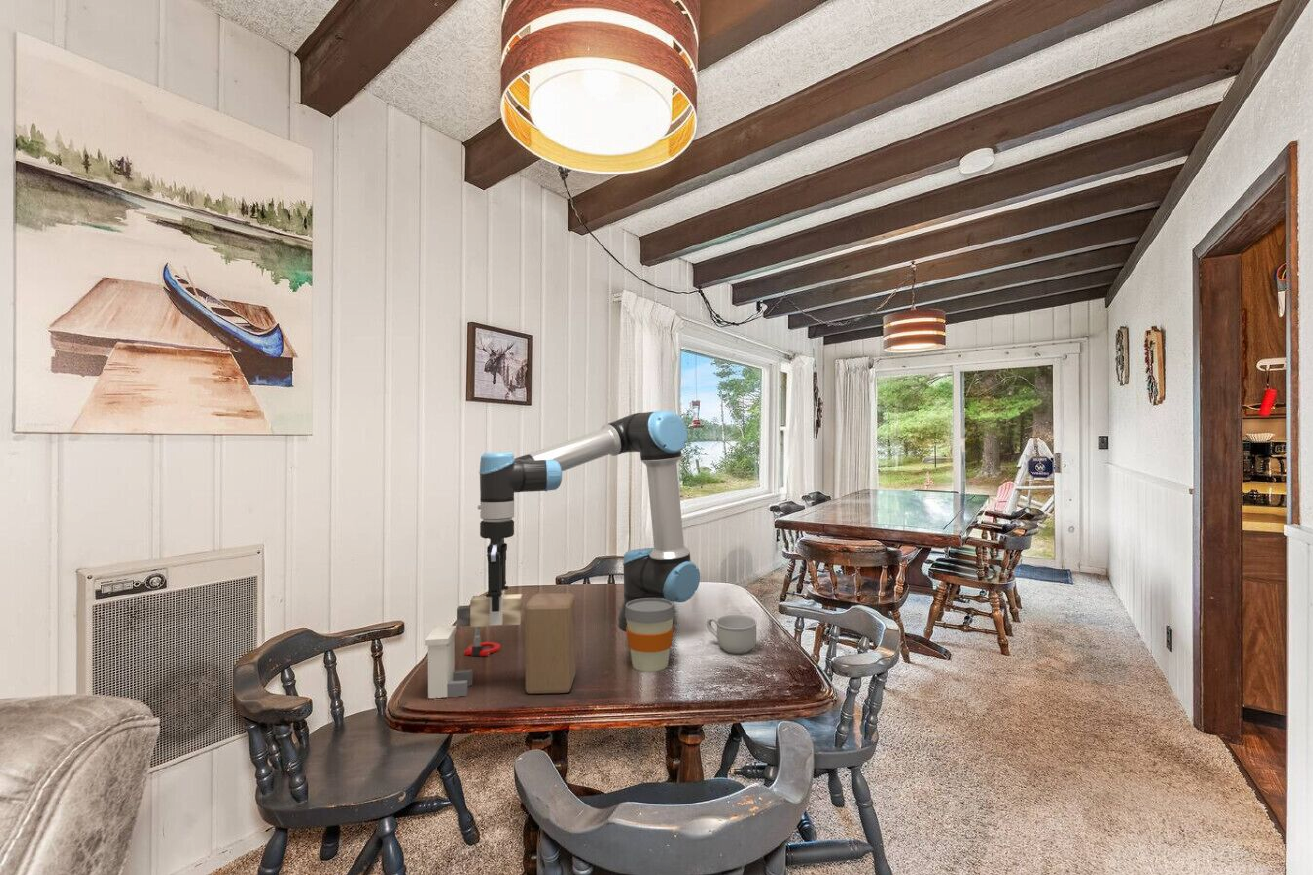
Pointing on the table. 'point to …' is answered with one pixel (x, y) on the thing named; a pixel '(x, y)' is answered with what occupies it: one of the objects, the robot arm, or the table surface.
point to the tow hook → (477, 646)
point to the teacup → (734, 632)
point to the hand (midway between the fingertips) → (497, 621)
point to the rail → (480, 611)
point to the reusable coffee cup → (650, 632)
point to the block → (550, 643)
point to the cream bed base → (445, 665)
